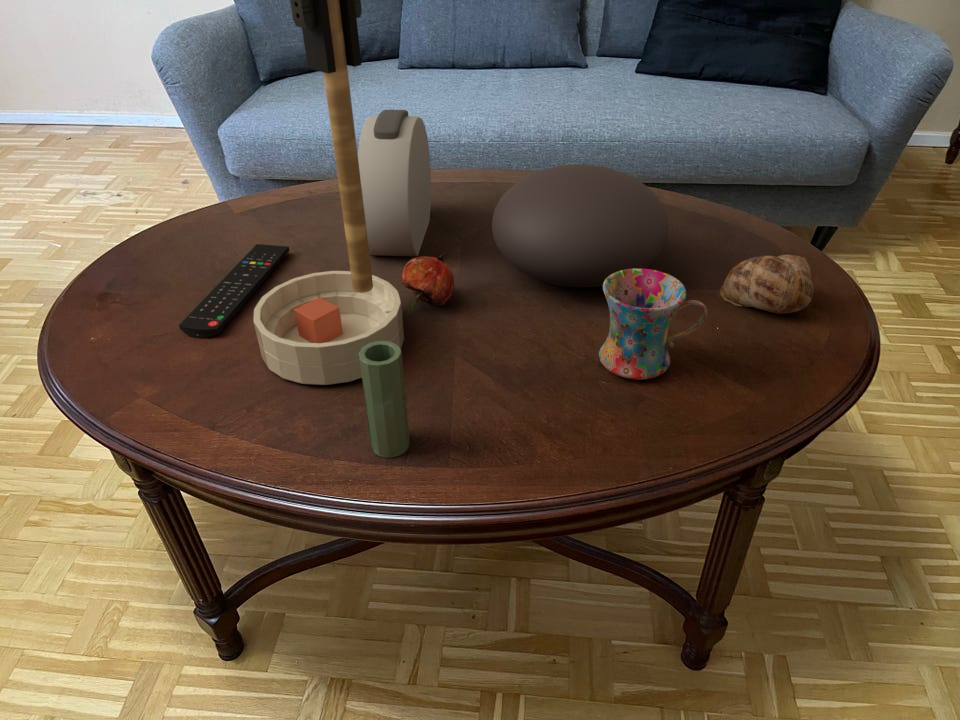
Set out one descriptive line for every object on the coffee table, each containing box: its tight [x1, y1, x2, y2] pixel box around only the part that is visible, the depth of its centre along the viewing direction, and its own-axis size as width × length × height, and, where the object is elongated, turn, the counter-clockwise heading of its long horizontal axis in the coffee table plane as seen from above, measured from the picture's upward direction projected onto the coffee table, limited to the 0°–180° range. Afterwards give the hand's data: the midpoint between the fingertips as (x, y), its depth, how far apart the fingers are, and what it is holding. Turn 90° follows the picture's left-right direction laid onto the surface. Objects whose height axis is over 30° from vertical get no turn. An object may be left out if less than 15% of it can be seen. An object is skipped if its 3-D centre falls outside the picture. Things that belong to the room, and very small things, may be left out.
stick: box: [322, 0, 373, 293], centre depth 62 cm, size 2×2×30 cm
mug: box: [598, 268, 708, 381], centre depth 84 cm, size 12×9×11 cm
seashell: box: [719, 254, 814, 315], centre depth 96 cm, size 10×9×10 cm
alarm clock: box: [357, 109, 432, 258], centre depth 110 cm, size 21×8×20 cm, turn 175°
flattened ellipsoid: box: [491, 163, 670, 288], centre depth 102 cm, size 25×25×15 cm
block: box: [294, 297, 343, 343], centre depth 91 cm, size 4×4×4 cm
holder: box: [359, 341, 410, 459], centre depth 72 cm, size 4×4×12 cm
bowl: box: [252, 270, 405, 386], centre depth 89 cm, size 18×18×6 cm
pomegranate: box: [401, 251, 455, 316], centre depth 97 cm, size 7×7×10 cm
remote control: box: [178, 243, 290, 339], centre depth 102 cm, size 5×24×1 cm, turn 170°
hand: (334, 65), depth 58 cm, fingers closed on stick, 2 cm apart
